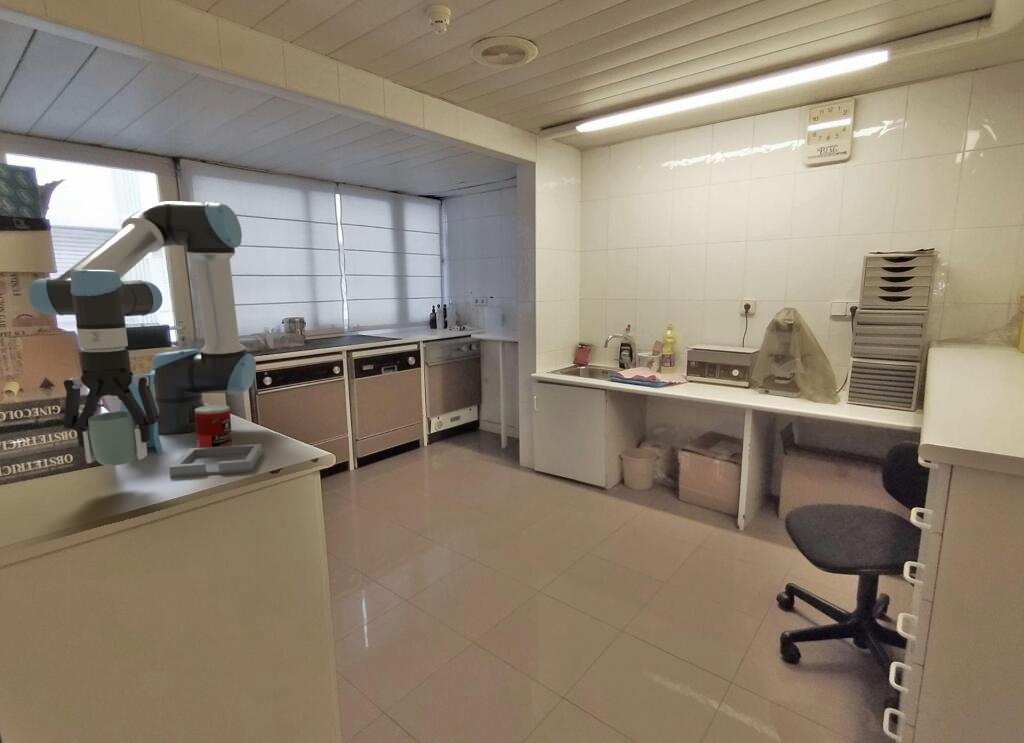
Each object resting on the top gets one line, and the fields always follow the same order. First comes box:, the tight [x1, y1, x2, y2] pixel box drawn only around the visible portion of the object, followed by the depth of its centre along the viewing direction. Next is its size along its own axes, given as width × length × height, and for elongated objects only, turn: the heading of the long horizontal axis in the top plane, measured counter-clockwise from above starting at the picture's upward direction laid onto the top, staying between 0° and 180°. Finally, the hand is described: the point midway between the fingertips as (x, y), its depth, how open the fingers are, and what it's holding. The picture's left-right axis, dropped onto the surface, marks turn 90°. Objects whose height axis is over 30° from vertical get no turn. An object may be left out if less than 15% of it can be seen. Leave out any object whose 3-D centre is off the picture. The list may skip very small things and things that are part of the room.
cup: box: [88, 410, 138, 467], centre depth 101 cm, size 8×8×10 cm
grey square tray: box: [169, 443, 263, 478], centre depth 117 cm, size 14×16×2 cm
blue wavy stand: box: [119, 369, 163, 454], centre depth 125 cm, size 8×8×20 cm
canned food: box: [195, 404, 233, 448], centre depth 128 cm, size 8×8×11 cm
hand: (117, 458), depth 102 cm, fingers closed on cup, 8 cm apart
